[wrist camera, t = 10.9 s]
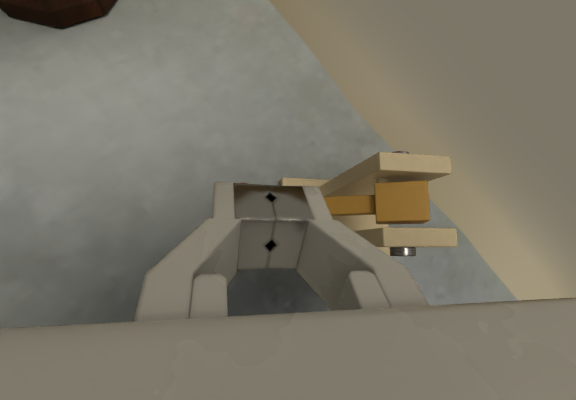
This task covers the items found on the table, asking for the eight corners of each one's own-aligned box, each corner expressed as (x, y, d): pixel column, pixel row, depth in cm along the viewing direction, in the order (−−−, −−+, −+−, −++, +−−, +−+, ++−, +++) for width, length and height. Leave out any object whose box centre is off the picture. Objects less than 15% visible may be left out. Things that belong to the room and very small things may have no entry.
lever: (228, 237, 23) (203, 236, 20) (229, 189, 23) (205, 179, 20) (423, 235, 20) (433, 233, 16) (419, 178, 20) (428, 164, 17)
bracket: (279, 258, 27) (331, 268, 15) (279, 180, 28) (328, 129, 16) (383, 257, 30) (503, 265, 17) (380, 184, 31) (490, 142, 18)
